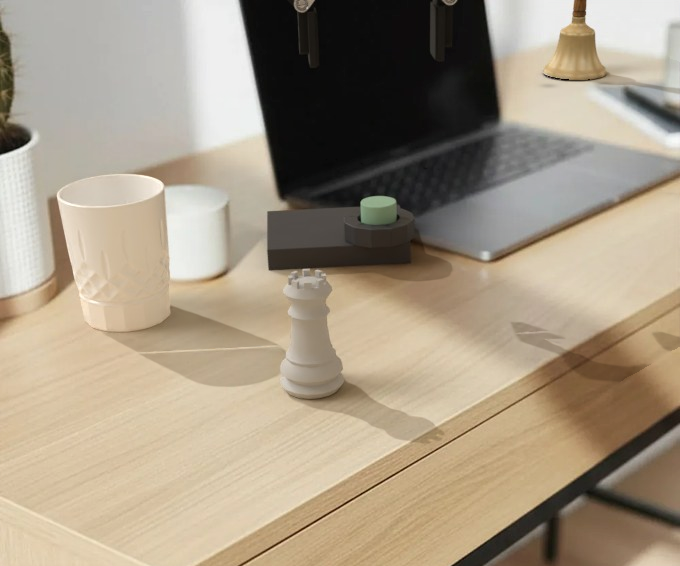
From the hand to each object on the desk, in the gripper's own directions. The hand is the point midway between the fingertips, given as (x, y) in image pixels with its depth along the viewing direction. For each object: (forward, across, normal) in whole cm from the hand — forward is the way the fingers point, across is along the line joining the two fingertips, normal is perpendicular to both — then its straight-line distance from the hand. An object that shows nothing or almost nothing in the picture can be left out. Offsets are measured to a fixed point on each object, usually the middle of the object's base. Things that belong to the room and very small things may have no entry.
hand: (375, 60), depth 93 cm
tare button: (+13, 0, +1) cm, 13 cm away
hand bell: (+17, +32, +64) cm, 73 cm away
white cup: (+17, -20, -8) cm, 28 cm away
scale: (+16, -3, +4) cm, 17 cm away
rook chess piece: (+17, -7, -23) cm, 29 cm away
